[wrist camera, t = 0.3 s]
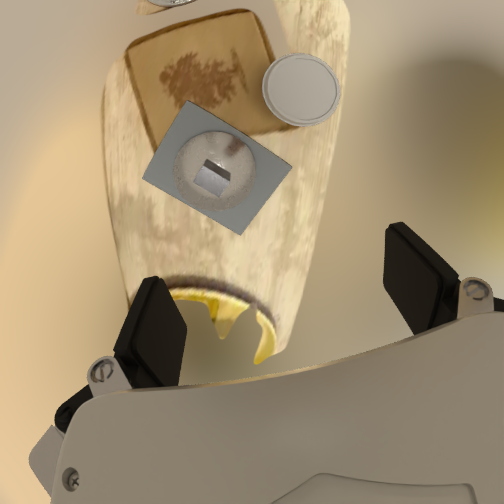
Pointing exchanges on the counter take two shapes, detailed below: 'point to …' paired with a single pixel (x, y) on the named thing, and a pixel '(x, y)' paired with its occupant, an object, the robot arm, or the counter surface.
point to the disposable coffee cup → (301, 89)
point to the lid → (214, 171)
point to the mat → (201, 121)
